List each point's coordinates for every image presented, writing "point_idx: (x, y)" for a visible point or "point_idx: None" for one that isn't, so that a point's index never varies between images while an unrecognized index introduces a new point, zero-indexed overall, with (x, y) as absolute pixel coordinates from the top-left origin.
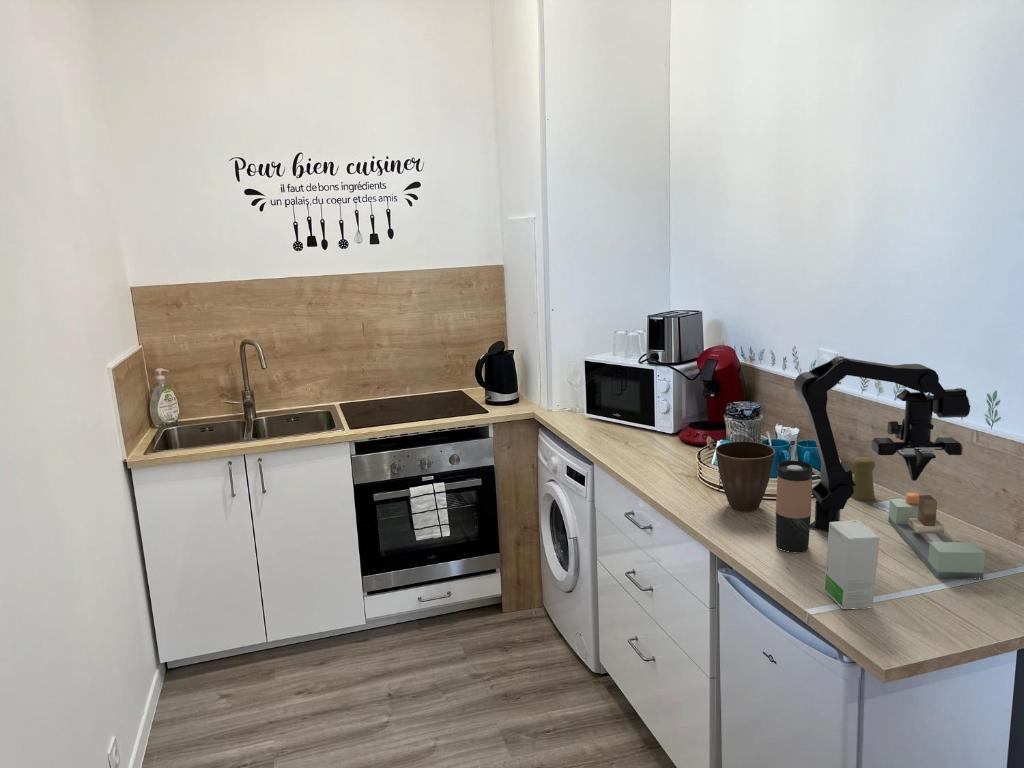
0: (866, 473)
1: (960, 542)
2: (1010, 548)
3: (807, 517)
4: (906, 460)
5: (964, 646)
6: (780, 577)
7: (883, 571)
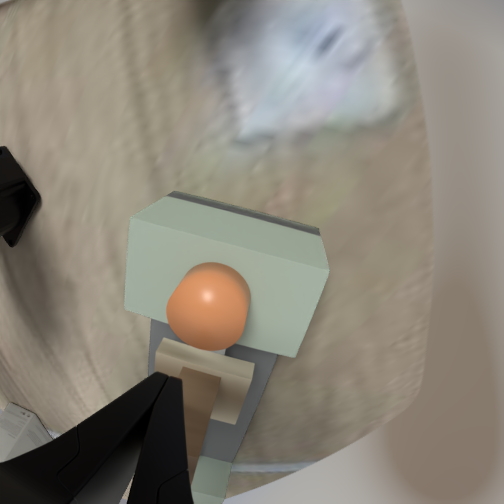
0: None
1: (194, 491)
2: (390, 413)
3: None
4: (38, 470)
5: (126, 498)
6: None
7: (76, 406)
